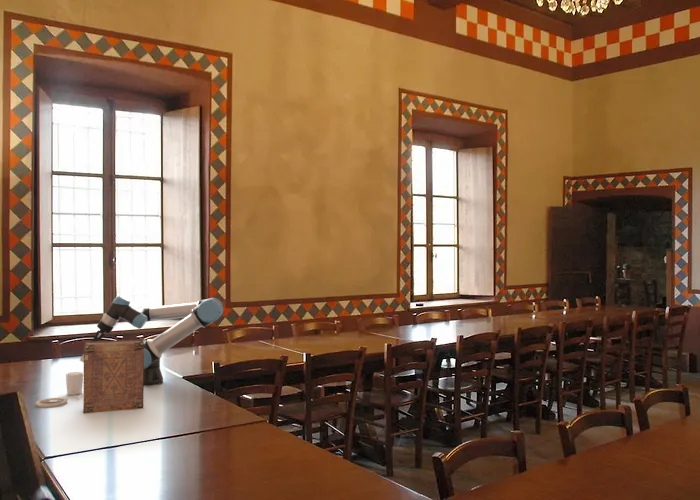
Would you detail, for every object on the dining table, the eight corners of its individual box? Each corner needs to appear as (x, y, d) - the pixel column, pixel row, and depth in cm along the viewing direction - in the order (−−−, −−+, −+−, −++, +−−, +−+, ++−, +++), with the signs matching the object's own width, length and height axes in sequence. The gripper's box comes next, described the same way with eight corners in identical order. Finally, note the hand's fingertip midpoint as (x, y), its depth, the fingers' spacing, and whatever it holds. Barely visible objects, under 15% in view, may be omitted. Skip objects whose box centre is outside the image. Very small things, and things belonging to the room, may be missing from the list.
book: (82, 413, 277) (83, 344, 277) (83, 408, 285) (83, 342, 285) (143, 408, 286) (144, 342, 286) (142, 403, 294) (142, 339, 294)
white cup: (86, 392, 318) (86, 372, 319) (77, 395, 311) (78, 375, 311) (71, 391, 319) (71, 371, 319) (62, 395, 311) (62, 374, 311)
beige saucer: (71, 400, 300) (71, 397, 300) (60, 407, 287) (60, 403, 287) (43, 400, 299) (43, 397, 299) (31, 407, 286) (31, 404, 286)
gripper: (105, 315, 337) (82, 348, 336) (96, 324, 313) (72, 360, 312) (117, 322, 339) (95, 355, 338) (110, 331, 315) (86, 368, 314)
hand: (84, 358), depth 325 cm, fingers open, 13 cm apart
